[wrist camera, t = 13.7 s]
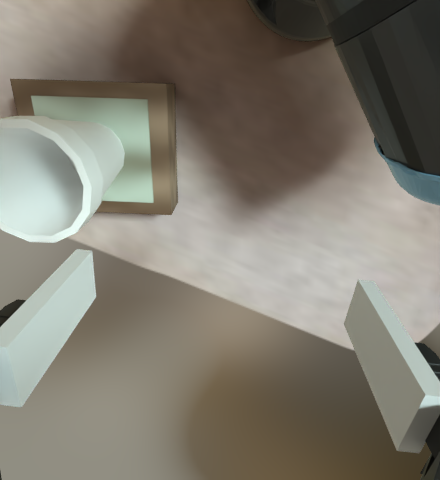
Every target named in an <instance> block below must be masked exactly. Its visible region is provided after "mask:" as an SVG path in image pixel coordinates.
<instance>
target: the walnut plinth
mask: <svg viewBox="0 0 440 480" xmlns="http://www.w3.org/2000/svg"><path fill="white" fill-rule="evenodd" d="M10 81H11V86H12V90H13V95H14V100H15V104H16V109H17V114H18V116H46V117H48V118H50V119H55V120H69V121H83V122H96V123H100V124H102V125H104V126H106V127H108V128H110V129H111V130H112V131H113V132H114V133H115V134H116V135H117V137H118V138H119V139H120V140H121V143H122V146H123V149H124V152H125V155H124V165H123V167H122V169H121V170H120V172H119V173H118V175H117V176H116V178H115V179H114V181H113V182H112V184H111V185H110V186H109V188H108V189H107V191H106V192H105V194H104V195H103V197H102V200H101V204H100V206H99V207H98V209H97V210H96V211H95V212H116V213H138V214H161V215H172V213H173V211H174V209H175V207H176V205H177V203H178V191H177V154H176V118H175V84H164V83H132V82H99V81H67V80H34V79H10Z"/></svg>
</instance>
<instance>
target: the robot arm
mask: <svg viewBox="0 0 440 480" xmlns="http://www.w3.org/2000/svg"><path fill="white" fill-rule="evenodd" d="M247 1H248V3H249V5H250V7H251V8H252V10H253V11H254V13H255V14H256V16H257V17H258V18H259V19H260V20H261V21H262V22H263V23H264V24H265V25H266V26H267V27H268V28H270V29H271V30H272V31H274V32H275V33H277V34H279V35H281V36H283V37H286V38H289V39H293V40H298V41H316V40H322V39H325V38H329V37H332V39H333V42H334V44H335V48H336V51H337V53H338V55H339V57H340V60H341V62H342V64H343V66H344V69H345V71H346V73H347V75H348V78H349V80H350V82H351V84H352V87H353V89H354V91H355V93H356V96H357V98H358V100H359V102H360V105H361V107H362V109H363V112H364V114H365V116H366V118H367V121H368V123H369V125H370V127H371V130H372V132H373V134H374V136H375V137H374V143H375V146H376V149H377V151H378V153H379V154H380V155H381V157H383V159H384V160H385V161H386V162H387V164H388V166H389V168H390V170H391V172H392V174H393V176H394V178H395V180H396V181H397V183H398V184H399V185H400V186H401V187H402V188H403V189H404V190H406V191H407V192H408V193H409V194H411V195H412V196H414V197H416V198H418V199H420V200H423V201H425V202H428V203H432V204H436V205H440V0H247ZM95 298H96V290H95V279H94V267H93V255H92V251H88V250H79V249H77V250H76V251H75V252H74V253H73V254H72V255H71V256H70V257H69V258H68V259H67V260H66V261H65V262H64V263H63V264H62V265H61V266H60V267H59V268H58V269H57V270H56V271H55V272H54V273H53V274H52V275H51V276H50V277H49V278H48V279H47V280H46V281H45V282H44V283H43V284H42V285H41V286H40V287H39V288H38V289H37V290H36V292H34V293H33V294H32V295H31V296H30V297H29V298H28V299H27V300H26V301H25V300H16V301H14V302H12V303H10V304H8V305H7V306H5V307H4V308H3V309H2V310H0V405H7V406H15V407H22V406H23V404H24V403H25V401H26V400H27V398H28V397H29V395H30V394H31V392H32V391H33V389H34V388H35V386H36V385H37V383H38V382H39V381H40V379H41V378H42V376H43V375H44V373H45V372H46V370H47V369H48V367H49V366H50V364H51V363H52V361H53V360H54V358H55V357H56V355H57V354H58V352H59V351H60V350H61V348H62V346H63V345H64V344H65V342H66V341H67V339H68V337H69V336H70V334H71V333H72V332H73V330H74V329H75V327H76V326H77V324H78V323H79V321H80V320H81V318H82V317H83V316H84V314H85V312H86V311H87V310H88V308H89V307H90V305H91V304H92V302H93V301H94V299H95ZM344 325H345V328H346V330H347V333H348V335H349V337H350V340H351V342H352V344H353V347H354V349H355V352H356V354H357V356H358V359H359V361H360V363H361V366H362V368H363V371H364V373H365V375H366V378H367V380H368V383H369V385H370V387H371V390H372V392H373V395H374V397H375V399H376V402H377V404H378V407H379V409H380V411H381V413H382V416H383V418H384V420H385V423H386V426H387V428H388V430H389V433H390V435H391V438H392V440H393V442H394V444H395V447H396V449H397V451H405V452H413V453H420V451H421V449H422V448H423V446H424V444H425V442H426V443H427V445H428V447H429V449H430V451H431V453H432V454H431V456H430V457H429V459H428V461H427V463H426V464H425V466H424V468H423V469H422V471H421V474H422V477H421V480H440V359H439V358H438V356H437V355H436V353H434V352H433V351H432V350H431V349H430V348H428V347H427V346H426V345H425V344H422V343H414V342H413V340H412V339H411V337H410V336H409V334H408V332H407V331H406V329H405V328H404V326H403V325H402V323H401V322H400V320H399V319H398V317H397V316H396V314H395V313H394V311H393V310H392V308H391V307H390V305H389V304H388V302H387V301H386V299H385V298H384V296H383V294H382V293H381V291H380V290H379V288H378V287H377V285H376V284H375V282H374V281H366V280H358V282H357V285H356V288H355V291H354V294H353V297H352V300H351V304H350V307H349V310H348V313H347V316H346V319H345V322H344ZM0 480H2V479H1V473H0Z"/></svg>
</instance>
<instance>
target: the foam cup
mask: <svg viewBox="0 0 440 480" xmlns="http://www.w3.org/2000/svg"><path fill="white" fill-rule="evenodd" d="M124 155H125V152H124V149H123V146H122V143H121V140H120V139H119V138H118V137H117V135H116V134H115V133H114V132H113V131H112V130H111V129H110V128H108V127H106V126H104V125H102V124H100V123H96V122H83V121H69V120H55V119H50V118H48V117H46V116H12V117H5V118H0V229H1V230H2V231H5V232H7V233H9V234H12V235H14V236H16V237H19V238H21V239H24V240H26V241H28V242H54V243H55V242H57V241H59V240H62V239H64V238H66V237H68V236H70V235H73V234H75V233H77V232H78V231H79V230H80V229H81V228H82V227H83V226H84V225H85V224H86V223H88V222H89V220H90V219H91V217H92V216H93V214H94V213H95V211H96V210H97V209H98V207H99V206H100V204H101V200H102V197H103V195H104V194H105V192H106V191H107V189H108V188H109V186H110V185H111V184H112V182H113V181H114V179H115V178H116V176H117V175H118V173H119V172H120V170H121V169H122V167H123V165H124Z"/></svg>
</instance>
